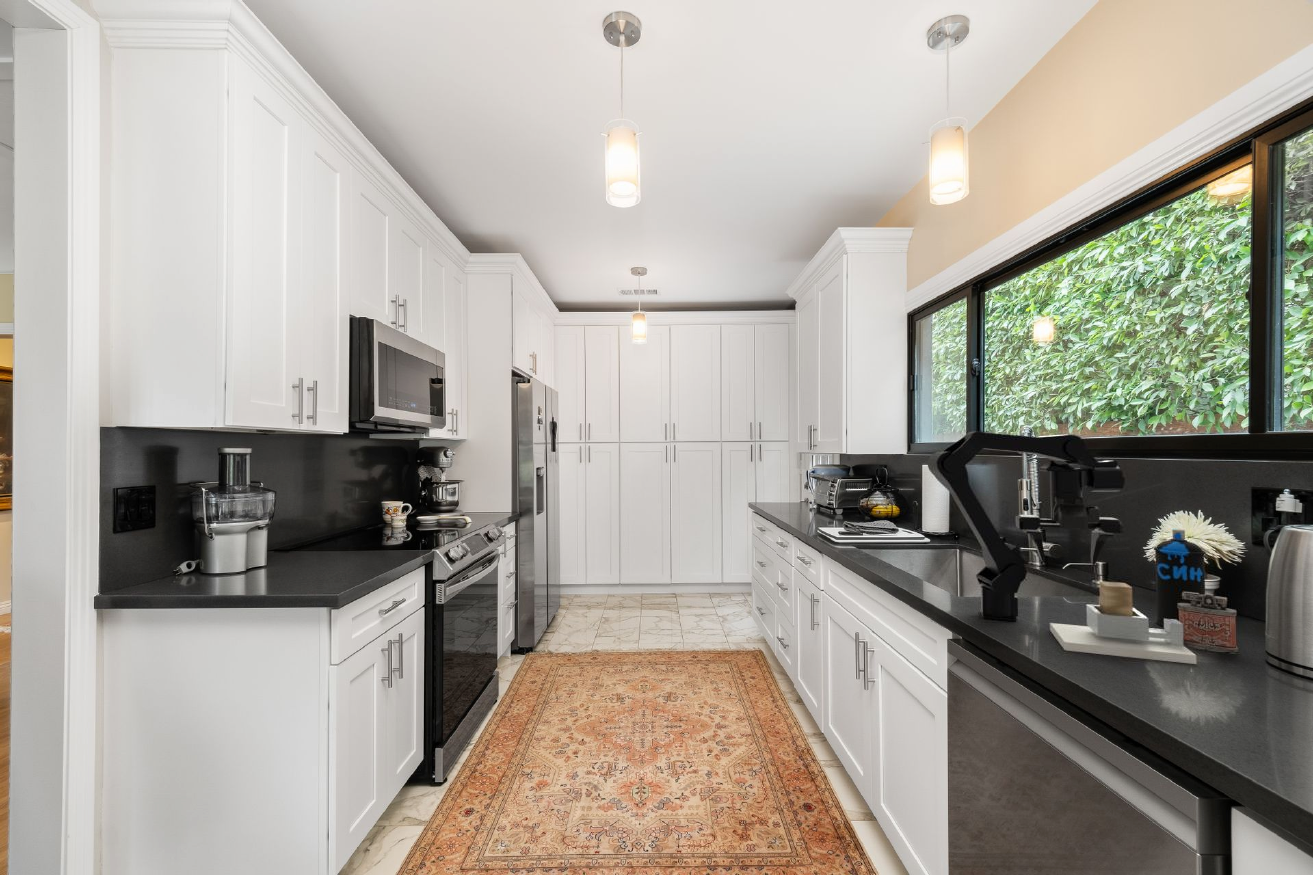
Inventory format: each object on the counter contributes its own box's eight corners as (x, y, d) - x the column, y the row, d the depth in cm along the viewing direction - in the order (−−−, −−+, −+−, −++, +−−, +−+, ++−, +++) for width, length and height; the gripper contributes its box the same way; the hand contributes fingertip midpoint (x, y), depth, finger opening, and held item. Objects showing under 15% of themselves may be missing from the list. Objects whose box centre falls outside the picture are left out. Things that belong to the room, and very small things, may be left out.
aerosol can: (1157, 618, 130) (1155, 526, 130) (1209, 625, 124) (1206, 529, 125) (1153, 626, 124) (1150, 529, 125) (1206, 634, 118) (1203, 533, 119)
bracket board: (1064, 650, 110) (1064, 642, 110) (1050, 630, 122) (1050, 622, 122) (1196, 664, 102) (1196, 655, 102) (1167, 641, 114) (1166, 633, 114)
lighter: (1237, 650, 109) (1235, 595, 110) (1237, 654, 107) (1236, 598, 107) (1178, 640, 115) (1177, 588, 115) (1178, 645, 112) (1176, 591, 113)
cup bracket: (1097, 641, 110) (1097, 614, 110) (1087, 629, 117) (1086, 604, 117) (1188, 650, 105) (1188, 621, 105) (1171, 637, 112) (1171, 610, 112)
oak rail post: (1106, 628, 111) (1105, 585, 111) (1100, 623, 115) (1099, 581, 115) (1133, 631, 110) (1131, 587, 110) (1125, 625, 113) (1124, 583, 113)
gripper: (1022, 493, 127) (1024, 567, 127) (1130, 495, 120) (1132, 573, 119) (1014, 490, 137) (1016, 558, 137) (1113, 491, 130) (1115, 563, 130)
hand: (1067, 563), depth 131 cm, fingers open, 9 cm apart
